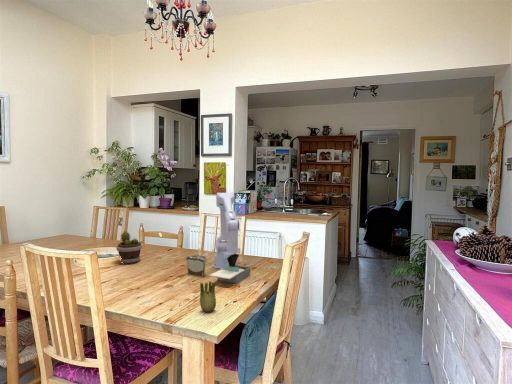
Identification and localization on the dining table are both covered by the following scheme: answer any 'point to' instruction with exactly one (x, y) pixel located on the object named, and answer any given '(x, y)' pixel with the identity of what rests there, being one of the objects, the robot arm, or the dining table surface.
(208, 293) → the fennel bulb
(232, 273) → the lid
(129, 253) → the flowerpot
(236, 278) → the grey sliding-lid box
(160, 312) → the dining table surface
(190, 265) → the food container
